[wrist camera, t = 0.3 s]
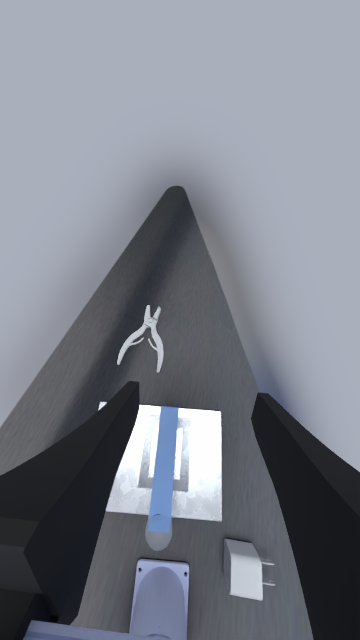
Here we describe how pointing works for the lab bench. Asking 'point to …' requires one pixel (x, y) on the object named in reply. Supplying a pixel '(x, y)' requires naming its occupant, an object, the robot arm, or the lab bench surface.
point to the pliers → (148, 323)
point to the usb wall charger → (244, 569)
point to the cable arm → (163, 481)
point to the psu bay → (190, 465)
